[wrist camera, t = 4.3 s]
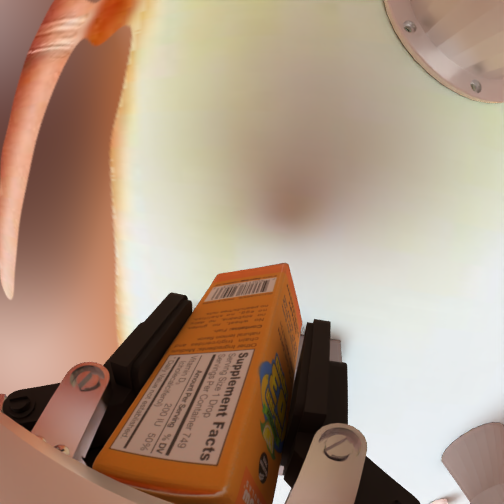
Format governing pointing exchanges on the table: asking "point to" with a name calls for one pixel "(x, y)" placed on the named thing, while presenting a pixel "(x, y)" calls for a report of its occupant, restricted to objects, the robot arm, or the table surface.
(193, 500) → the supplement box
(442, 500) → the milkshake
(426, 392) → the table surface
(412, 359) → the table surface
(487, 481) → the lava lamp
